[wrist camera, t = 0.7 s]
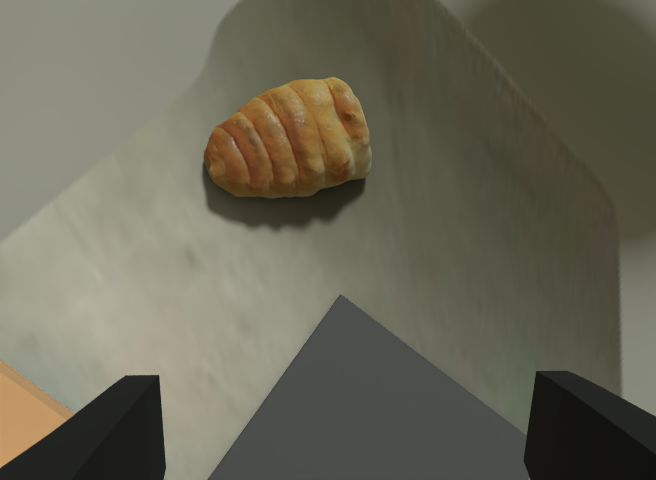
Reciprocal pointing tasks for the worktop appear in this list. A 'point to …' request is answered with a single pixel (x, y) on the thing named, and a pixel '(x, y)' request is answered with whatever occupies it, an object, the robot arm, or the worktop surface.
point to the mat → (370, 416)
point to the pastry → (291, 142)
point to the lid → (25, 414)
